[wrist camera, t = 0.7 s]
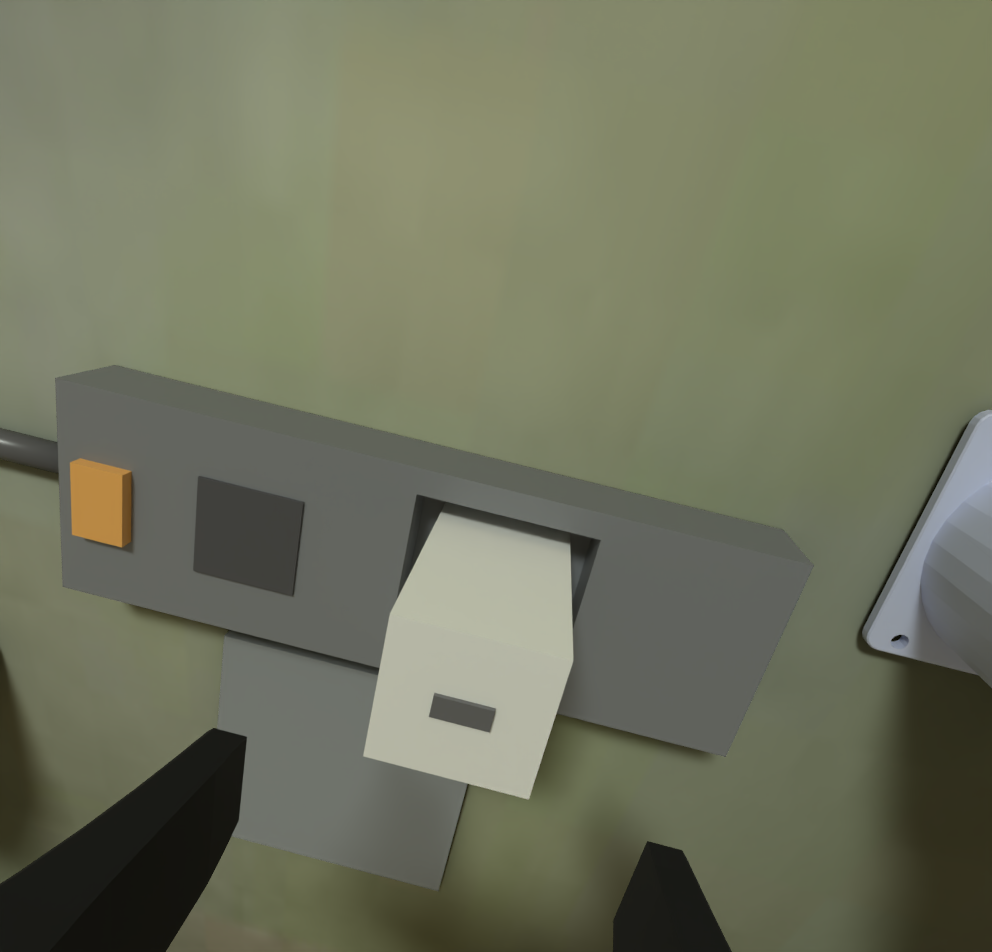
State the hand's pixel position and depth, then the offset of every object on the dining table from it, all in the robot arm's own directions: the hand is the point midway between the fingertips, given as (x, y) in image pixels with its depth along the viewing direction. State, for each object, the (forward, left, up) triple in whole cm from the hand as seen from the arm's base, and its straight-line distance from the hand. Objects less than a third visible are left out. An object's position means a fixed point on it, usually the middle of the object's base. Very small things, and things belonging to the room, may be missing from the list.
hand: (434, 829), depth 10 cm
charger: (0, 0, -10) cm, 10 cm away
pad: (+4, +10, -10) cm, 15 cm away
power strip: (+7, 0, -10) cm, 12 cm away
